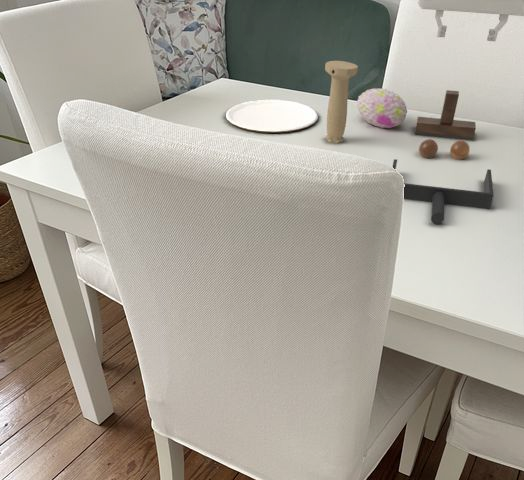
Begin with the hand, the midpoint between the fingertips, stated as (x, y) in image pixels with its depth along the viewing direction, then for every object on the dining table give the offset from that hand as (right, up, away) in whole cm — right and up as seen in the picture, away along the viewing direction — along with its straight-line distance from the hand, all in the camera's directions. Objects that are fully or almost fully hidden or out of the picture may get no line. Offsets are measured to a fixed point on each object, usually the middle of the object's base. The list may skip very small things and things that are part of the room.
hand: (465, 38), depth 110 cm
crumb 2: (0, -21, +2) cm, 21 cm away
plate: (-37, -8, +20) cm, 43 cm away
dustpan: (-9, -34, -11) cm, 37 cm away
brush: (0, -14, +13) cm, 19 cm away
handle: (-24, -17, +9) cm, 31 cm away
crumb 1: (-6, -20, +2) cm, 22 cm away
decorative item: (-13, -10, +18) cm, 24 cm away
